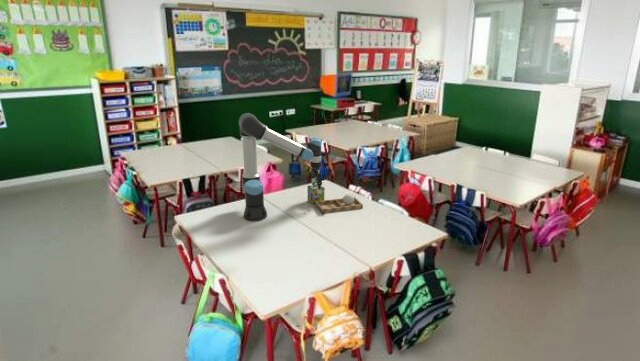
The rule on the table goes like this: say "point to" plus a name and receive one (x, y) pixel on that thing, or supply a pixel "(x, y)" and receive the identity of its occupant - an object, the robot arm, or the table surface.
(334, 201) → the tray
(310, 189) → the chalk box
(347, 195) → the grey ball
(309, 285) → the table surface
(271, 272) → the table surface
